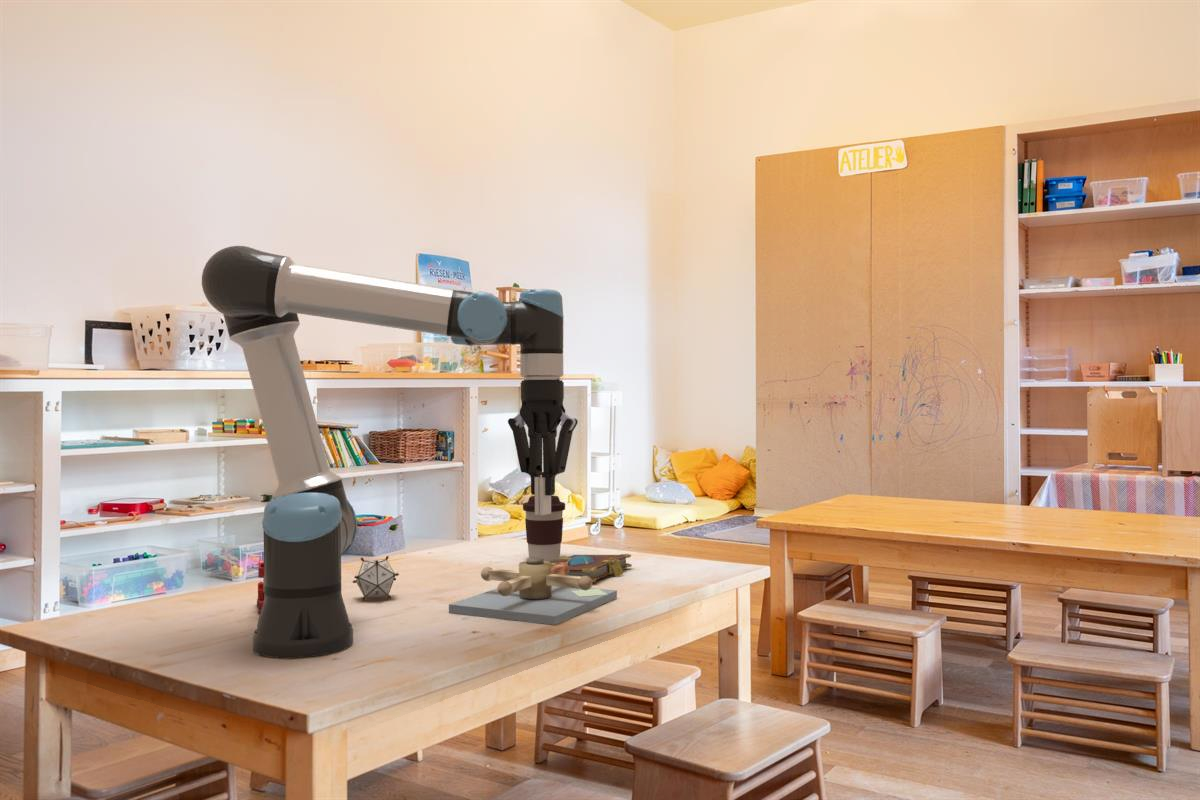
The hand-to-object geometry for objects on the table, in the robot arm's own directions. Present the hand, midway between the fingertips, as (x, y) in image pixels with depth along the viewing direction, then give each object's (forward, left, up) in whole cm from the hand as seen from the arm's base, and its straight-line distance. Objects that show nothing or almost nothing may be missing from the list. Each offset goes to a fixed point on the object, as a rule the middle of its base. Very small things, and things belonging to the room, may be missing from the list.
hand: (543, 513), depth 173 cm
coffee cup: (+52, +30, -19) cm, 63 cm away
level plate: (+9, +7, -18) cm, 22 cm away
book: (+38, +13, -19) cm, 44 cm away
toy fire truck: (-16, +49, -19) cm, 55 cm away
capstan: (+9, +7, -17) cm, 20 cm away
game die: (+1, +38, -19) cm, 42 cm away
